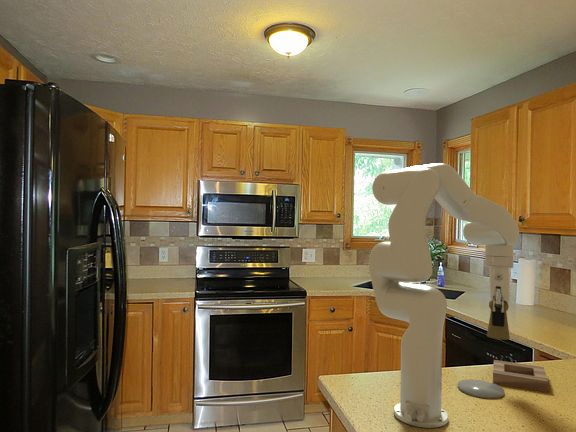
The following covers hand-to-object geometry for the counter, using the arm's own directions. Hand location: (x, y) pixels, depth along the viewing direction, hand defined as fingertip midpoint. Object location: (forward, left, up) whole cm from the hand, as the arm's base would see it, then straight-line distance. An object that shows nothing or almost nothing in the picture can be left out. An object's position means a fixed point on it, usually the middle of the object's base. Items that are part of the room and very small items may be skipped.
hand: (498, 323), depth 124 cm
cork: (0, 0, -4) cm, 4 cm away
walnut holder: (+8, -6, -18) cm, 20 cm away
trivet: (-7, +4, -18) cm, 20 cm away
